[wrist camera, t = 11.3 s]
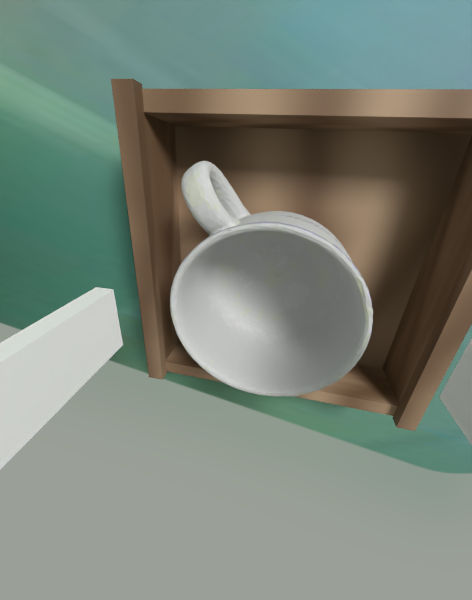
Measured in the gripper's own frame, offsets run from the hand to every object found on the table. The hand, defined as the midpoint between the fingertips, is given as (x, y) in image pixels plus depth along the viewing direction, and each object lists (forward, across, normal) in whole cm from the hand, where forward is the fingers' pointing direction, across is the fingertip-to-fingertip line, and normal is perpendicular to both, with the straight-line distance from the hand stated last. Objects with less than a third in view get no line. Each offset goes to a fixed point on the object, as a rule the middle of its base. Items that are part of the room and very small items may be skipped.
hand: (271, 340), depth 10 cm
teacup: (+12, -1, 0) cm, 12 cm away
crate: (+12, +1, 0) cm, 12 cm away
